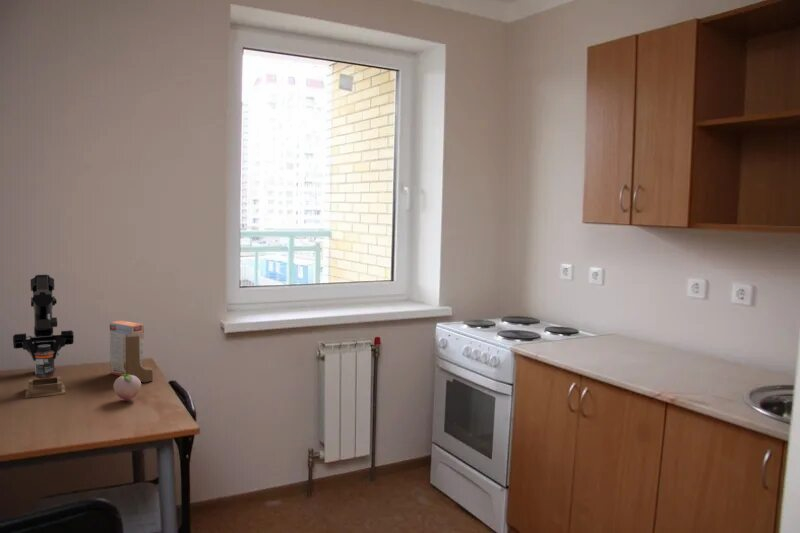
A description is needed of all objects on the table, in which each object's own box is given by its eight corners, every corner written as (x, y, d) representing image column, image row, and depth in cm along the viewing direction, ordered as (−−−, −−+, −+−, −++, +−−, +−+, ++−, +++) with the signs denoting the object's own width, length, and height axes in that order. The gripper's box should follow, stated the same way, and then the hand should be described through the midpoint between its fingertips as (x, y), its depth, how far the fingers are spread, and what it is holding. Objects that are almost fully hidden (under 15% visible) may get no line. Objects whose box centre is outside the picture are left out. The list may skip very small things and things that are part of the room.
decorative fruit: (146, 401, 210) (145, 372, 209) (121, 406, 204) (121, 377, 203) (134, 395, 216) (133, 367, 215) (110, 400, 210) (109, 371, 209)
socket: (26, 389, 220) (25, 379, 220) (64, 384, 226) (63, 375, 226) (25, 398, 210) (25, 388, 209) (65, 393, 216) (65, 383, 215)
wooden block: (151, 378, 237) (151, 332, 235) (152, 381, 233) (152, 335, 232) (126, 381, 233) (125, 334, 231) (127, 384, 229) (126, 336, 227)
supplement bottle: (46, 373, 221) (45, 342, 220) (58, 375, 219) (57, 344, 218) (31, 377, 216) (30, 346, 215) (43, 379, 214) (42, 348, 213)
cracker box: (145, 376, 240) (144, 323, 238) (131, 379, 235) (130, 326, 233) (123, 370, 247) (122, 319, 246) (109, 373, 242) (108, 321, 240)
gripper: (12, 311, 214) (12, 349, 206) (72, 308, 223) (74, 344, 215) (13, 329, 221) (13, 366, 213) (72, 325, 231) (74, 361, 223)
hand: (44, 359), depth 216 cm, fingers closed on supplement bottle, 6 cm apart
